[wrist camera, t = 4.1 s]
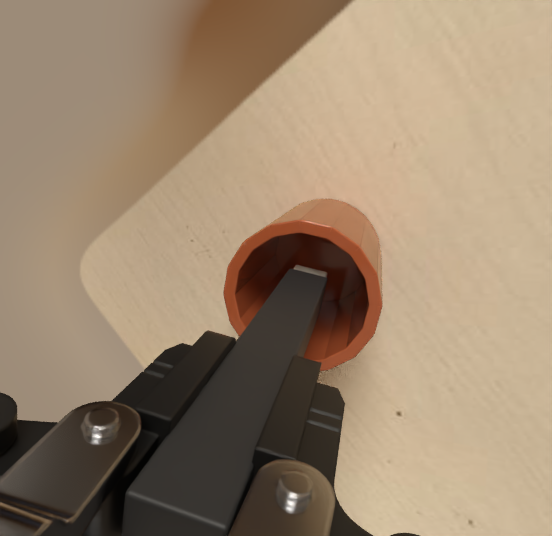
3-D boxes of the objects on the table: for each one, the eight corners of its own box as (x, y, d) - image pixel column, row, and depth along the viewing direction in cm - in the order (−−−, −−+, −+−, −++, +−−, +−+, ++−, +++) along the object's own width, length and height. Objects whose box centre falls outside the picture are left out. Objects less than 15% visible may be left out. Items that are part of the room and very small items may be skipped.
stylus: (294, 261, 18) (122, 491, 6) (331, 270, 18) (228, 529, 6) (286, 295, 19) (115, 571, 7) (322, 304, 19) (213, 610, 6)
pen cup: (282, 187, 24) (237, 204, 16) (393, 212, 23) (400, 242, 15) (262, 290, 26) (214, 348, 18) (364, 317, 25) (358, 390, 17)
